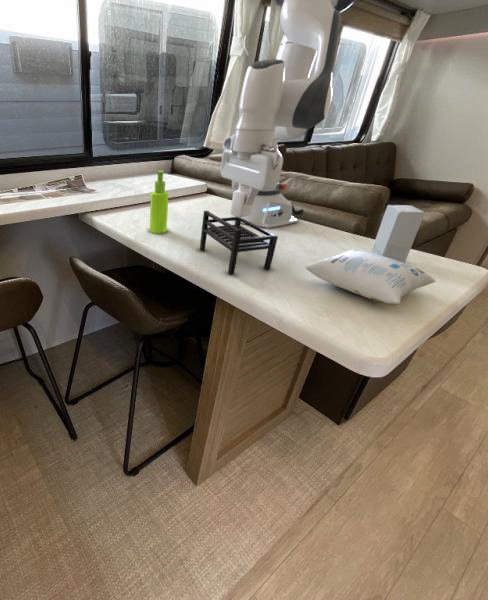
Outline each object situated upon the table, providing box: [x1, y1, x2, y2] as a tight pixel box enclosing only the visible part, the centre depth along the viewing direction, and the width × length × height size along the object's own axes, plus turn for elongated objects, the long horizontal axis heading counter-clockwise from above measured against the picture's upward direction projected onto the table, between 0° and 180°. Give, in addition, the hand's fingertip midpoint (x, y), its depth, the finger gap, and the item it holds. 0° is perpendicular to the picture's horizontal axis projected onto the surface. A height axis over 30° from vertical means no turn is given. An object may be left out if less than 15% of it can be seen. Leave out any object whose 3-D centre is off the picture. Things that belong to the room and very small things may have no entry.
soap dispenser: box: [149, 169, 169, 234], centre depth 110 cm, size 6×7×20 cm
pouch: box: [304, 249, 437, 305], centre depth 75 cm, size 8×19×20 cm
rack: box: [199, 210, 279, 276], centre depth 90 cm, size 12×18×12 cm, turn 15°
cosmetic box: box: [370, 204, 426, 264], centre depth 87 cm, size 8×6×15 cm
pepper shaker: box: [229, 183, 252, 217], centre depth 84 cm, size 4×4×10 cm
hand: (242, 201), depth 84 cm, fingers closed on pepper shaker, 4 cm apart
